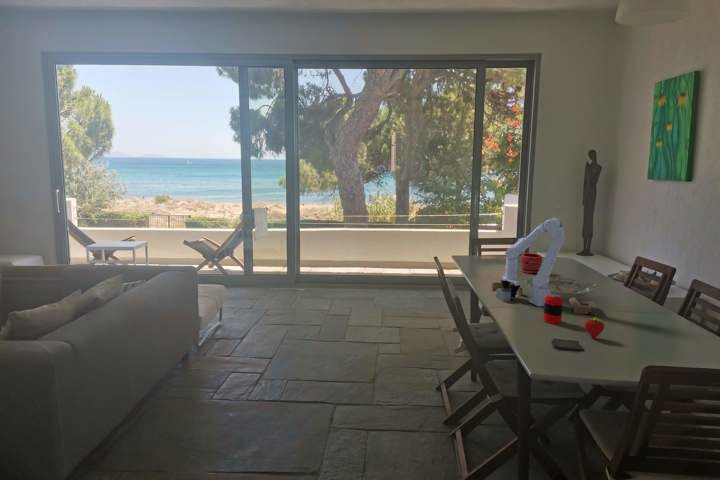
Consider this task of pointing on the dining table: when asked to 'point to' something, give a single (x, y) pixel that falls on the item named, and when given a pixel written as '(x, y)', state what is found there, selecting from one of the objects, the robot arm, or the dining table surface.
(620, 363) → the dining table surface
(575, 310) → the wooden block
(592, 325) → the strawberry
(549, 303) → the soda can
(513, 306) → the dining table surface
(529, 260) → the plant pot
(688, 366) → the dining table surface
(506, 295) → the bracket
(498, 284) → the corner fence
